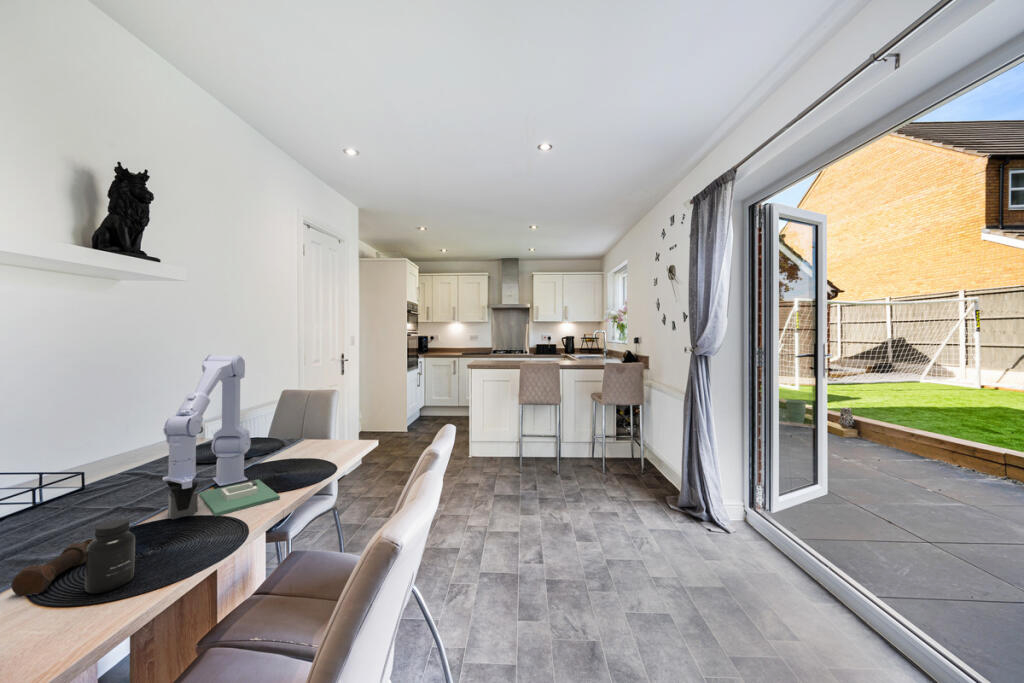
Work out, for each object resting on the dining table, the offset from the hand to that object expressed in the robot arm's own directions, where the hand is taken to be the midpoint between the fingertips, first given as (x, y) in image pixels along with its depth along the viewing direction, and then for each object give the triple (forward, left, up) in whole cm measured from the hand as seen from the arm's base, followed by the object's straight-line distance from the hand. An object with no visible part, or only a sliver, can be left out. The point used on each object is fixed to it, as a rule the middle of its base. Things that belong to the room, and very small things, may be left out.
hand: (181, 507), depth 106 cm
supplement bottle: (+28, -15, -2) cm, 32 cm away
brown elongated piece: (+16, -21, -2) cm, 27 cm away
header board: (-2, +14, -2) cm, 14 cm away
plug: (0, 0, -2) cm, 2 cm away
